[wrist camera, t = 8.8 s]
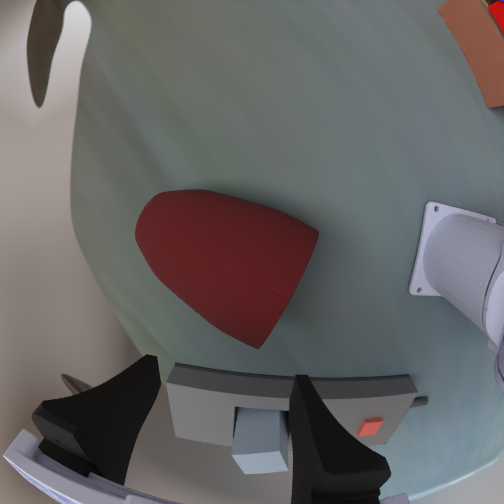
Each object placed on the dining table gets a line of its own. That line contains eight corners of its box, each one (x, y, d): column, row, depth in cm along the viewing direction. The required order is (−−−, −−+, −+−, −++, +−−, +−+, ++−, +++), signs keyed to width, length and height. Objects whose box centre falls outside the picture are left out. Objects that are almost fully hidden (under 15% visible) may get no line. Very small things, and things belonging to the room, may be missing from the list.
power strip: (441, 370, 23) (454, 389, 19) (411, 421, 25) (419, 440, 22) (175, 362, 24) (164, 386, 21) (182, 418, 26) (174, 440, 23)
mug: (184, 240, 25) (280, 291, 24) (131, 305, 20) (240, 371, 19) (190, 142, 17) (330, 205, 16) (100, 212, 12) (285, 317, 11)
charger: (279, 394, 24) (279, 451, 17) (287, 418, 25) (288, 471, 18) (239, 399, 24) (231, 454, 17) (251, 423, 25) (245, 475, 19)
